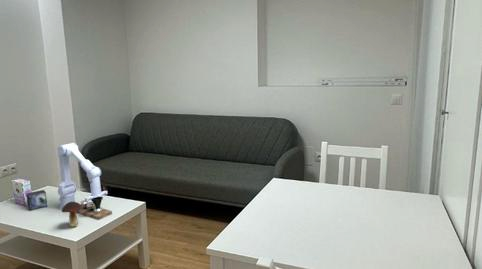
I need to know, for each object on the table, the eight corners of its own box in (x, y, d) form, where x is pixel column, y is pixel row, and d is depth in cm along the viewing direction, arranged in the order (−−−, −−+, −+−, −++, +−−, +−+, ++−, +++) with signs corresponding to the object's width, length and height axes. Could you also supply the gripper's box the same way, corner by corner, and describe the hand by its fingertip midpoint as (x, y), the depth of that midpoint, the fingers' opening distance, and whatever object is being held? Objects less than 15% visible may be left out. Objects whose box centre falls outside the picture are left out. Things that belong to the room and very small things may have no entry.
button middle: (86, 210, 220) (85, 203, 219) (92, 207, 223) (91, 201, 223) (90, 211, 217) (89, 204, 217) (96, 208, 221) (96, 202, 220)
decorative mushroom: (59, 229, 199) (56, 204, 196) (75, 221, 209) (72, 197, 206) (73, 232, 195) (70, 206, 192) (89, 224, 204) (86, 199, 202)
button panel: (72, 212, 223) (71, 209, 223) (86, 206, 232) (85, 203, 231) (98, 219, 210) (98, 216, 210) (112, 214, 218) (111, 210, 218)
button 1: (79, 208, 223) (79, 201, 222) (86, 205, 227) (85, 199, 226) (84, 209, 221) (83, 203, 220) (90, 207, 225) (89, 200, 224)
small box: (29, 211, 227) (27, 195, 226) (27, 208, 232) (25, 193, 230) (47, 206, 234) (45, 191, 232) (45, 204, 239) (43, 189, 237)
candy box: (34, 203, 241) (30, 180, 238) (25, 206, 236) (21, 183, 233) (23, 200, 248) (20, 177, 245) (14, 203, 243) (11, 180, 240)
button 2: (93, 215, 217) (92, 209, 216) (99, 213, 220) (98, 206, 220) (97, 216, 215) (97, 210, 214) (103, 214, 218) (103, 207, 217)
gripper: (89, 192, 206) (91, 214, 209) (109, 185, 218) (112, 205, 221) (81, 190, 210) (84, 211, 212) (102, 183, 222) (104, 203, 224)
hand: (97, 208), depth 217 cm, fingers closed, pressing on button 2
